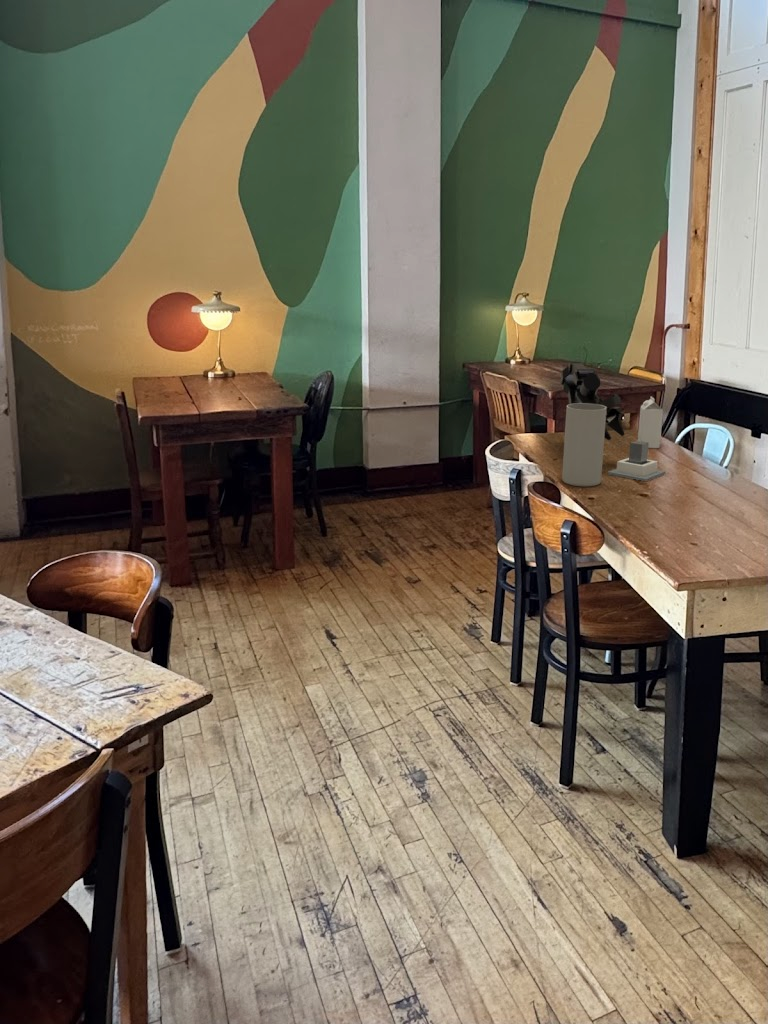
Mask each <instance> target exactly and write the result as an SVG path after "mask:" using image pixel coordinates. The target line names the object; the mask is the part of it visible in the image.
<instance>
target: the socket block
mask: <svg viewBox="0 0 768 1024" xmlns="http://www.w3.org/2000/svg"><path fill="white" fill-rule="evenodd" d="M658 463H659V461H657V460H653V459H647V463H646V464H643V465H640V464H634V463H629V457H627V458H624V459H620V460H618V461H616V468H615V469H611V470H609V471H607V475H609V476H612V475H613V477H618V476H619V477H618V478H623V477H625V478H624V479H628V478H630V479H629V480H633V479H636V480H635V481H638V480H641V481H640V482H643V481H647V482H649V481H652V480H654V479H657V478H659V476H660V477H662V476H665V475H666V471H665V470H661V469H658ZM664 474H665V475H664ZM651 479H652V480H651ZM648 480H649V481H648Z"/></svg>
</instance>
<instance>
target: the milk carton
mask: <svg viewBox="0 0 768 1024" xmlns="http://www.w3.org/2000/svg"><path fill="white" fill-rule="evenodd" d="M655 400H656V399H655V398H654V397H653V396H650V398H649V399H647V400H645V401H644V402H643V403H642V404H641V405H640V410H639V419H638V420H639V421H638V431H637V432H638V434H637V441H641V442H648V443H649V445H648V449H660V446H661V444H660V443H661V435H662V434H661V433H662V425H663V424H662V423H663V414H664V413H663V412H664V409H662V408H661V407H660V405H658V404H657V403H656V402H655Z"/></svg>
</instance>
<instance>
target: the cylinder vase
mask: <svg viewBox="0 0 768 1024" xmlns="http://www.w3.org/2000/svg"><path fill="white" fill-rule="evenodd" d="M606 409H607V407H606V406H603V405H598V404H588V403H577V404H569V403H568V404H567V405H566V409H565V412H566V413H565V414H566V415H565V427H564V440H563V441H564V442H563V443H564V444H563V456H562V457H563V458H562V459H563V460H562V474H561V475H562V476H561V478H562V479H561V481H562V482H563V483H565V484H566V485H569V486H575V487H582V488H583V487H596V486H598V485H600V484H601V482H602V474H603V460H604V450H605V449H604V446H605V445H604V444H605V438H604V436H605V428H606Z"/></svg>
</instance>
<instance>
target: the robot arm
mask: <svg viewBox="0 0 768 1024" xmlns="http://www.w3.org/2000/svg"><path fill="white" fill-rule="evenodd" d="M559 382H560V383H559V384H560V386H561V387H562V388H561V389H562V391H563V392H564V393H565V394H566V395H567V397H568V405H569V404H577V403H588V404H598V405H603V406H606V407H607V409H606V422H605V424H606V425H607V426H608V427H609V428H610V429H612V430H613V431H614V432H615V433H617V434H619V435H620V436H621V437H623V436H625V431H624V428H623V425H622V421H621V420H622V419H621V418H622V416H623V413H624V411H623V409H622V407H620V406H619V405H621V400H622V398H621V397H620V395H618V393H614V394H611V395H610V397H608V398H605V399H604V398H603V397H599V396H598V395H597V392H598V391H599V389H600V386H601V378H600V376H599V375H598V373H597V371H596V370H595V369H594V368H587V367H586V366H585V365H584V362H582V361H570V362H568V365H567V366H566V367H565V368H564V369H562V370H561V373H560V379H559ZM604 439H605V440H608V441H610V440H612V437H611V435H610V433H609V431H608V430H607V428H606V427H605V436H604Z"/></svg>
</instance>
